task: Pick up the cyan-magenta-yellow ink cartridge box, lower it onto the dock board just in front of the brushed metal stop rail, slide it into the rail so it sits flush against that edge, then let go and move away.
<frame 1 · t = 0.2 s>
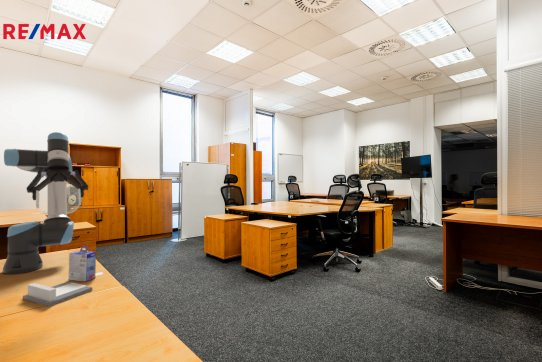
hand: (59, 205, 112), 35 cm above the table, tool tilted 35°, fingers open, 13 cm apart
dock board: (58, 294, 110), on the table
ink cartridge box: (82, 279, 127), on the table
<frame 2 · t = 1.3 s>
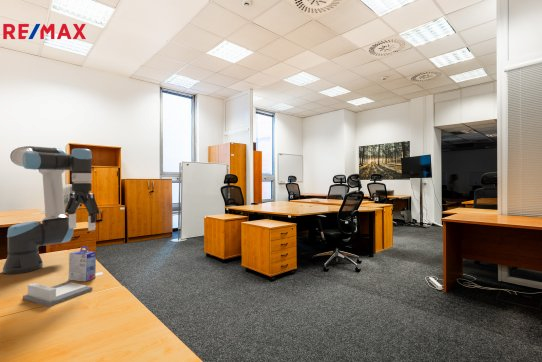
hand: (81, 229, 127), 23 cm above the table, tool pointing down, fingers open, 13 cm apart
nothing on the table moved.
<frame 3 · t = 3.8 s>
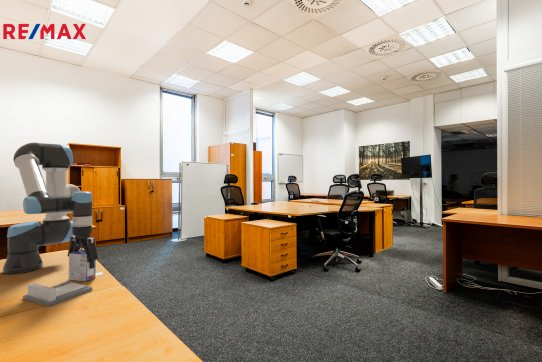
hand: (82, 273, 127), 2 cm above the table, tool pointing down, fingers closed on ink cartridge box, 10 cm apart
ink cartridge box: (82, 279, 127), on the table, touching gripper
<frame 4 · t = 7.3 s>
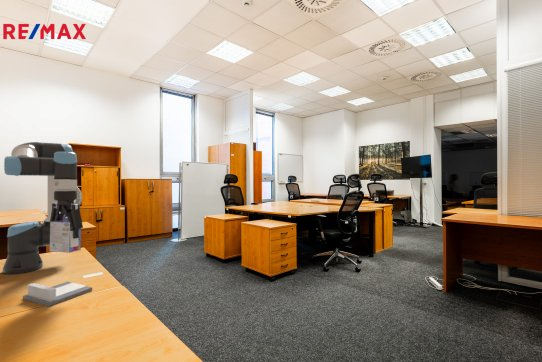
hand: (65, 245, 112), 19 cm above the table, tool pointing down, fingers closed on ink cartridge box, 10 cm apart
ink cartridge box: (65, 251, 112), point 16 cm above the table, touching gripper
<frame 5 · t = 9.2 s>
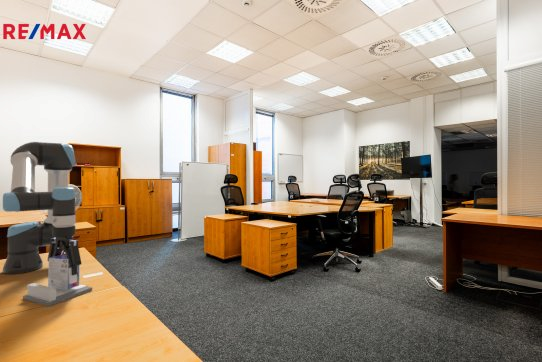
hand: (64, 280, 112), 5 cm above the table, tool pointing down, fingers closed on ink cartridge box, 10 cm apart
ink cartridge box: (64, 287, 112), point 2 cm above the table, touching gripper
when the fingers open (4 cm above the table, at t = 10.8 s): ink cartridge box stays where it is, resting on dock board.
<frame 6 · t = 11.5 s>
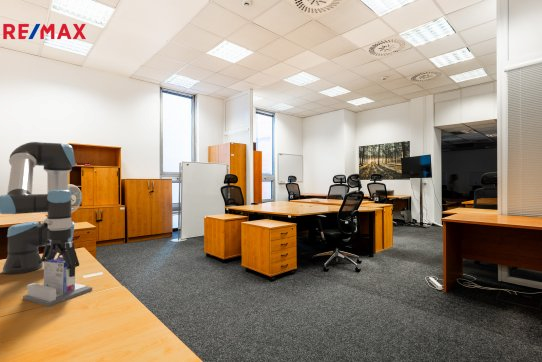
hand: (59, 282, 110), 5 cm above the table, tool pointing down, fingers open, 13 cm apart
ink cartridge box: (59, 291, 110), point 1 cm above the table, touching dock board
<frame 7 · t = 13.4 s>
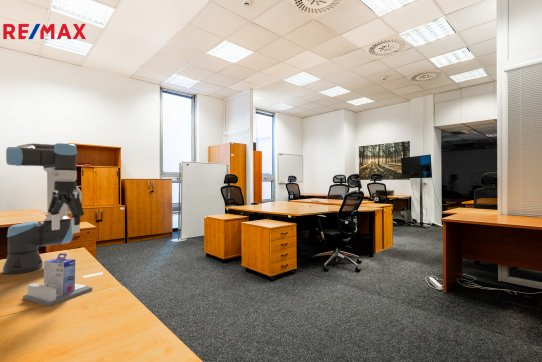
hand: (65, 231, 117), 24 cm above the table, tool pointing down, fingers open, 13 cm apart
nothing on the table moved.
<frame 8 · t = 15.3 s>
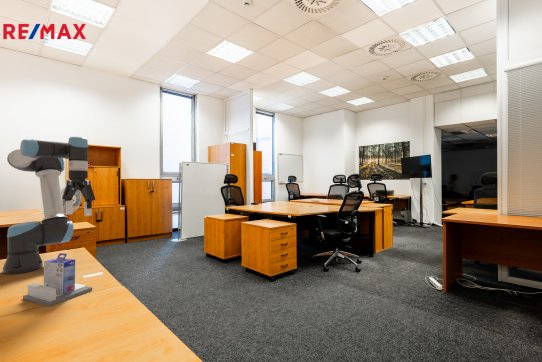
hand: (78, 215, 131), 29 cm above the table, tool pointing down, fingers open, 13 cm apart
nothing on the table moved.
at the end: ink cartridge box 0.1 cm off-centre on the dock board, point 1.1 cm above the dock board's base; ink cartridge box tilted 0°; the gripper is holding nothing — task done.
